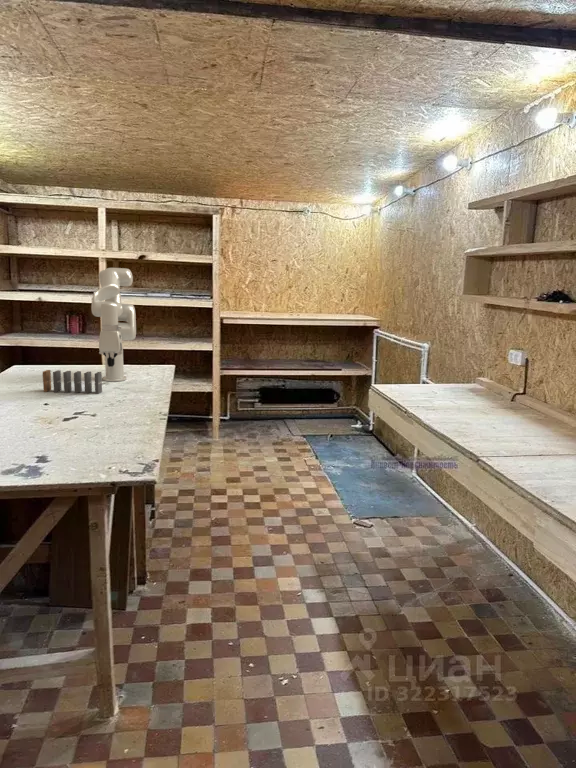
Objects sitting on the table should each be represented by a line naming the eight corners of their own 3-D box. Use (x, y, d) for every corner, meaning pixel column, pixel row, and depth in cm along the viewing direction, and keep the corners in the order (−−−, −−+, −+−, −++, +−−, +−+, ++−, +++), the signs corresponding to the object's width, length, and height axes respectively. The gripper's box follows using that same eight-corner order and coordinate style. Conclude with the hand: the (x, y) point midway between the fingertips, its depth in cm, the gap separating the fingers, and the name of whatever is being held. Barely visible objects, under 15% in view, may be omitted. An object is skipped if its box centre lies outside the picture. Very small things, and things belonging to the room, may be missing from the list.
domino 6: (95, 393, 249) (94, 373, 247) (98, 391, 254) (98, 371, 252) (98, 393, 249) (97, 373, 247) (102, 391, 254) (101, 372, 252)
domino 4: (74, 393, 249) (73, 372, 247) (78, 390, 254) (77, 371, 252) (77, 393, 249) (77, 373, 247) (81, 391, 254) (81, 371, 252)
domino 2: (53, 392, 249) (52, 372, 247) (58, 390, 254) (57, 370, 252) (57, 392, 249) (56, 372, 247) (61, 390, 254) (60, 370, 252)
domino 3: (64, 392, 249) (63, 372, 247) (68, 390, 254) (67, 370, 252) (67, 392, 249) (66, 372, 247) (71, 390, 254) (70, 370, 252)
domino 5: (84, 393, 249) (84, 373, 247) (88, 391, 254) (87, 371, 252) (88, 393, 249) (87, 373, 247) (92, 391, 254) (91, 371, 252)
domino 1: (43, 391, 249) (42, 371, 247) (48, 389, 254) (47, 369, 252) (47, 392, 249) (45, 371, 247) (51, 389, 254) (50, 370, 252)
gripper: (127, 328, 249) (128, 365, 252) (97, 327, 249) (98, 364, 252) (123, 329, 241) (124, 367, 245) (91, 328, 241) (92, 367, 244)
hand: (111, 366), depth 248 cm, fingers closed
